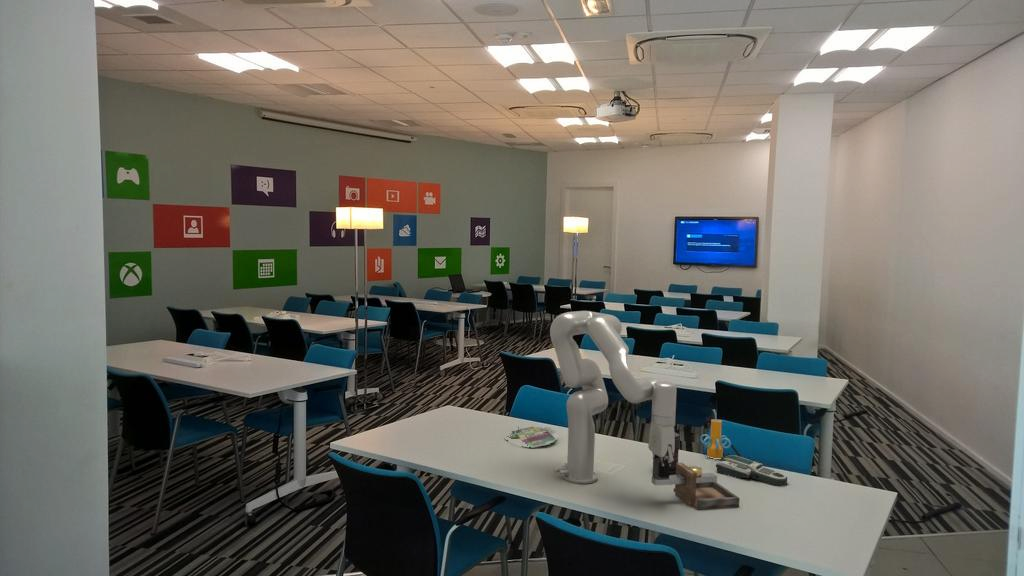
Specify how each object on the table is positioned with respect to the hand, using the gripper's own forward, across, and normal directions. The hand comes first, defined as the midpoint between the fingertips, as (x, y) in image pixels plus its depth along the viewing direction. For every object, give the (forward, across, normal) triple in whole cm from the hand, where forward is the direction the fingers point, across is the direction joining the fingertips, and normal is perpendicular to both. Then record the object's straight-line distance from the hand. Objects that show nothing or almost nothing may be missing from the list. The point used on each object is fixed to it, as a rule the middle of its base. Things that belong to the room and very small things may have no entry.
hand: (660, 474), depth 207 cm
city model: (+10, -71, -25) cm, 76 cm away
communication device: (+10, -16, +45) cm, 49 cm away
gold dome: (+1, 0, +12) cm, 12 cm away
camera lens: (+9, -25, +15) cm, 31 cm away
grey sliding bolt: (+3, 0, +8) cm, 9 cm away
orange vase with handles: (+9, -39, +43) cm, 59 cm away
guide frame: (+9, 0, +16) cm, 19 cm away
